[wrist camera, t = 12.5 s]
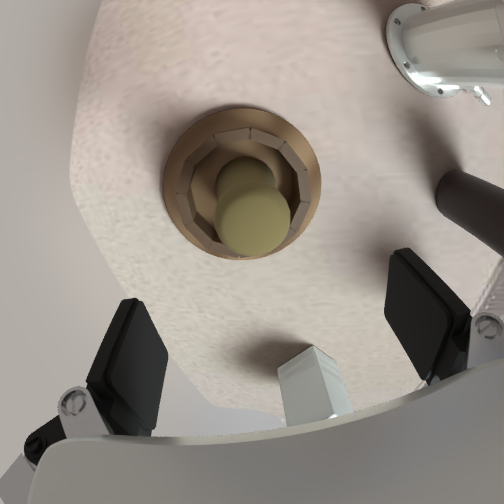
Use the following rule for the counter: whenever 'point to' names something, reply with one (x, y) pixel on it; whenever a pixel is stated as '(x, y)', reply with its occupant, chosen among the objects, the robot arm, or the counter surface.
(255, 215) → the olive knobbed pestle
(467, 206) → the bottle
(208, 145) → the collar stand
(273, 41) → the counter surface
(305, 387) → the supplement box
